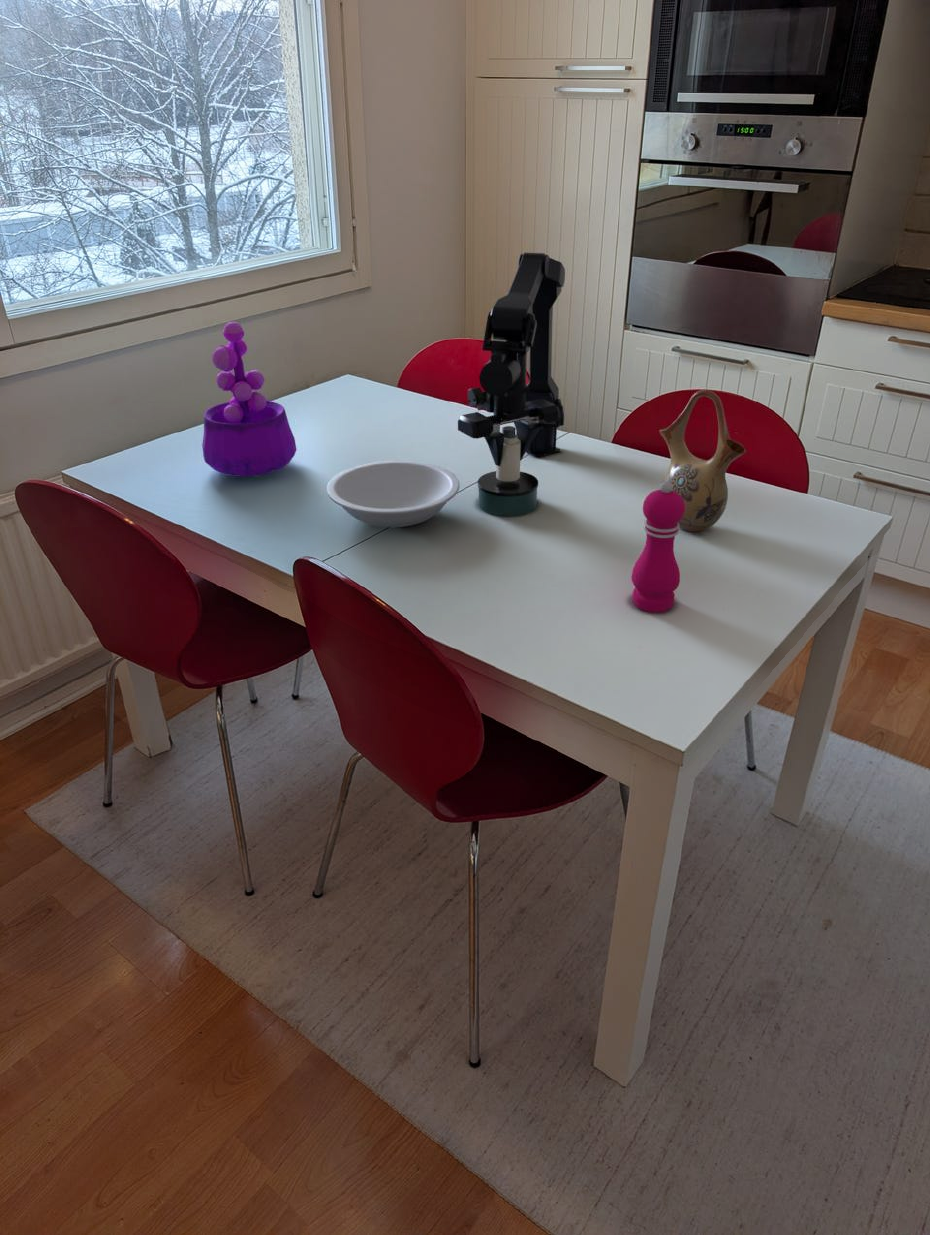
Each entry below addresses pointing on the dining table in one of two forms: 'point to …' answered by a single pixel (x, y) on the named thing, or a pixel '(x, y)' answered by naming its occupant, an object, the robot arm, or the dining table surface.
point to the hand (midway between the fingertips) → (508, 462)
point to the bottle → (509, 456)
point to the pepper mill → (658, 551)
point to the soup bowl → (393, 492)
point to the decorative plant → (244, 418)
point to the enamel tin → (507, 494)
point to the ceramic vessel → (700, 469)
